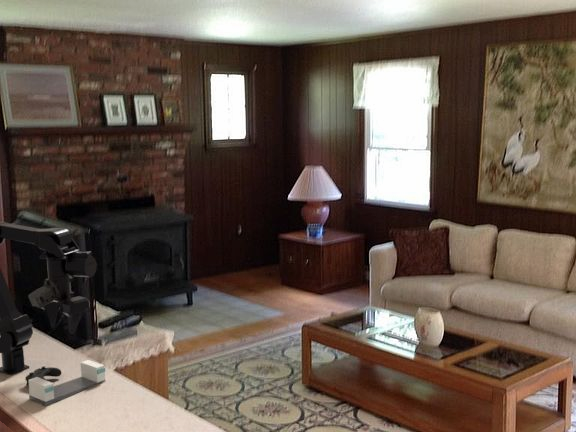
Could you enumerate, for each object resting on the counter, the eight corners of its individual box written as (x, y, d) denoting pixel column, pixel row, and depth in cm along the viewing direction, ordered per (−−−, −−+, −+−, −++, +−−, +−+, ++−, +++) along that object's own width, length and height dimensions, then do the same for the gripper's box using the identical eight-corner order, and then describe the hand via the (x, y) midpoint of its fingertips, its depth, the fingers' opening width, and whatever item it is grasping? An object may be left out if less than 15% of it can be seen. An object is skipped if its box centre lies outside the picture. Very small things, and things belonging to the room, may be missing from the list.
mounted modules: (29, 395, 176) (28, 379, 175) (88, 373, 190) (88, 359, 189) (46, 402, 171) (45, 386, 171) (105, 379, 185) (105, 365, 185)
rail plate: (29, 398, 176) (29, 395, 176) (89, 377, 190) (89, 373, 190) (45, 405, 172) (45, 401, 171) (105, 383, 186) (105, 379, 185)
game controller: (46, 384, 180) (28, 369, 181) (34, 399, 182) (17, 384, 182) (64, 371, 190) (47, 356, 190) (53, 385, 191) (37, 370, 191)
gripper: (12, 275, 190) (16, 331, 192) (52, 285, 178) (56, 344, 180) (49, 268, 198) (52, 321, 200) (89, 277, 187) (92, 333, 189)
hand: (62, 330), depth 192 cm, fingers open, 9 cm apart
